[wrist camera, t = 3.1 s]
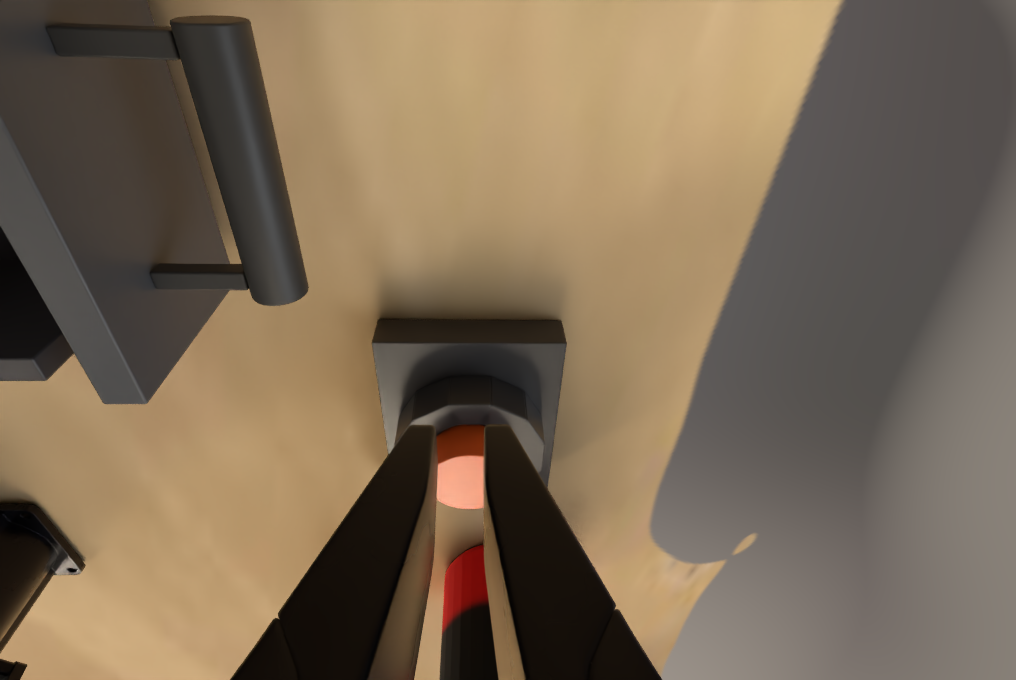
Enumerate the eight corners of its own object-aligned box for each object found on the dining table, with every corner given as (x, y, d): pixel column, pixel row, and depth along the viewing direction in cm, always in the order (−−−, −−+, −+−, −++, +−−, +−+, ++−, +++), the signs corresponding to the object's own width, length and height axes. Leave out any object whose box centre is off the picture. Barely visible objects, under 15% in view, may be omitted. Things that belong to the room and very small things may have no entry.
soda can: (421, 571, 35) (400, 809, 25) (506, 523, 32) (519, 770, 22) (497, 610, 38) (504, 831, 29) (580, 570, 36) (618, 800, 26)
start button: (509, 477, 24) (511, 509, 23) (431, 478, 24) (428, 510, 23) (512, 422, 22) (514, 454, 21) (427, 423, 22) (423, 455, 21)
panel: (543, 468, 29) (550, 523, 26) (398, 470, 29) (389, 526, 26) (561, 320, 23) (573, 370, 20) (377, 318, 23) (363, 371, 20)
